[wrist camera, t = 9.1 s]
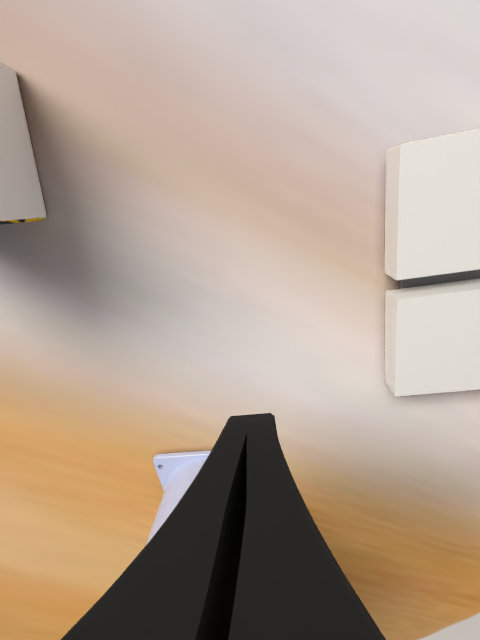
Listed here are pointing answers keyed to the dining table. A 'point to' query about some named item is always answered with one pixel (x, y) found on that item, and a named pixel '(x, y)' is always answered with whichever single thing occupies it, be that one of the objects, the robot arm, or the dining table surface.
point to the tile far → (433, 338)
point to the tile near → (433, 206)
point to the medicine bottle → (16, 157)
